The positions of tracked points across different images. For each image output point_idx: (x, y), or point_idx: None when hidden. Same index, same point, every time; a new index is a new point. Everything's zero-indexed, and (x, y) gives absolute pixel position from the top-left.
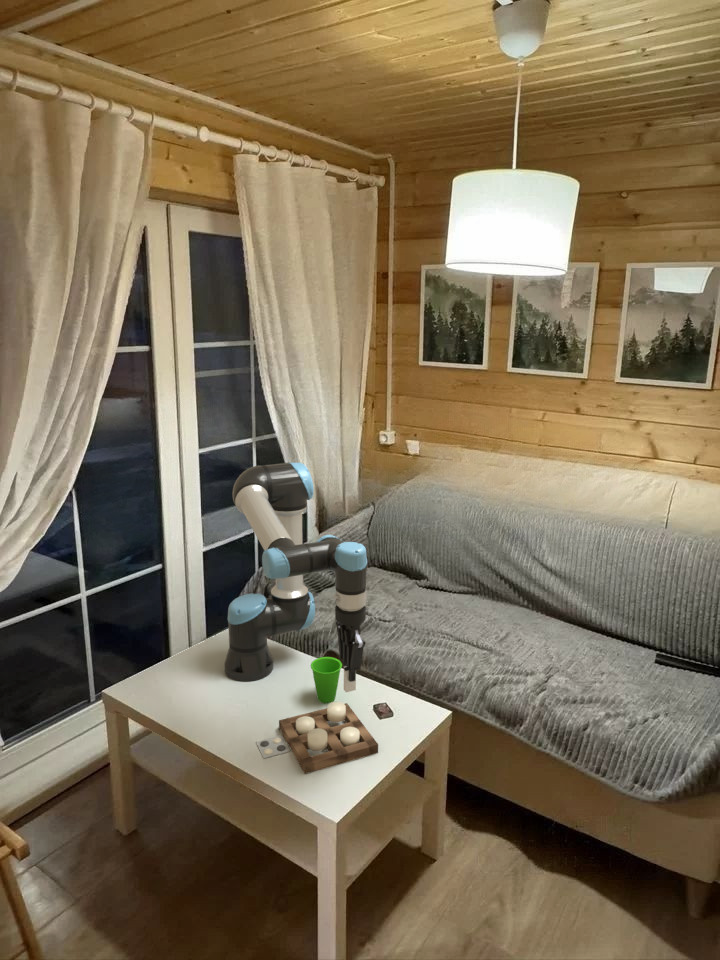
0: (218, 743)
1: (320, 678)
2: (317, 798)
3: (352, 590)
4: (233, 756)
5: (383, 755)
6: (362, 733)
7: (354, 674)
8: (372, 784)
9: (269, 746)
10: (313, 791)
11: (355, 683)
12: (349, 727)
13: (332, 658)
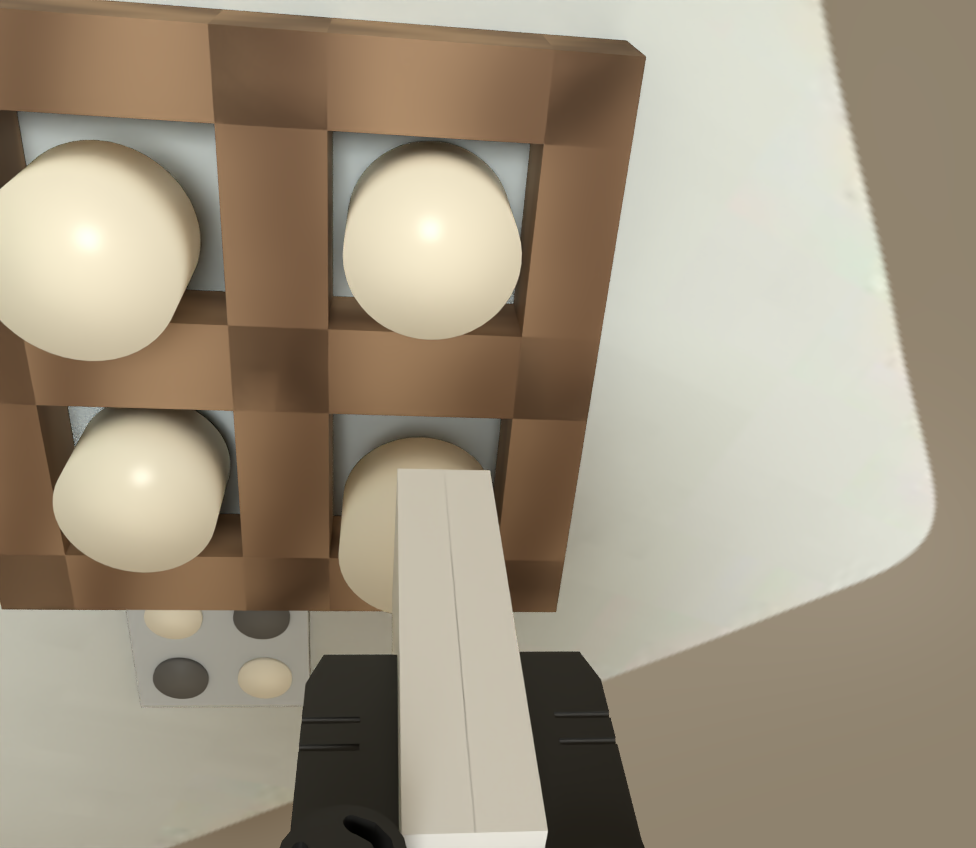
0: (79, 835)
1: None
2: (760, 573)
3: None
4: (222, 801)
5: (680, 13)
6: (432, 111)
7: (620, 789)
8: (882, 262)
9: (215, 661)
10: (701, 573)
11: (499, 548)
12: (359, 228)
13: None
